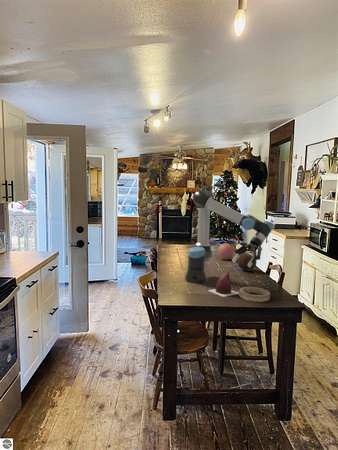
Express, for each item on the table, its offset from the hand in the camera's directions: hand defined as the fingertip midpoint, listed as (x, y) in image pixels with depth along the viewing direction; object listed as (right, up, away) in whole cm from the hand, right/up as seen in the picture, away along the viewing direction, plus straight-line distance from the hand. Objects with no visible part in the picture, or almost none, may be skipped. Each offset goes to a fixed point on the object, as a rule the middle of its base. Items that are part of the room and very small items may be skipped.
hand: (240, 264), depth 223 cm
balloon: (+9, -7, +97) cm, 97 cm away
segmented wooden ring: (+6, -19, -13) cm, 24 cm away
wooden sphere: (+17, -12, +55) cm, 59 cm away
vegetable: (-13, -17, -7) cm, 22 cm away
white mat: (-13, -17, -7) cm, 22 cm away
